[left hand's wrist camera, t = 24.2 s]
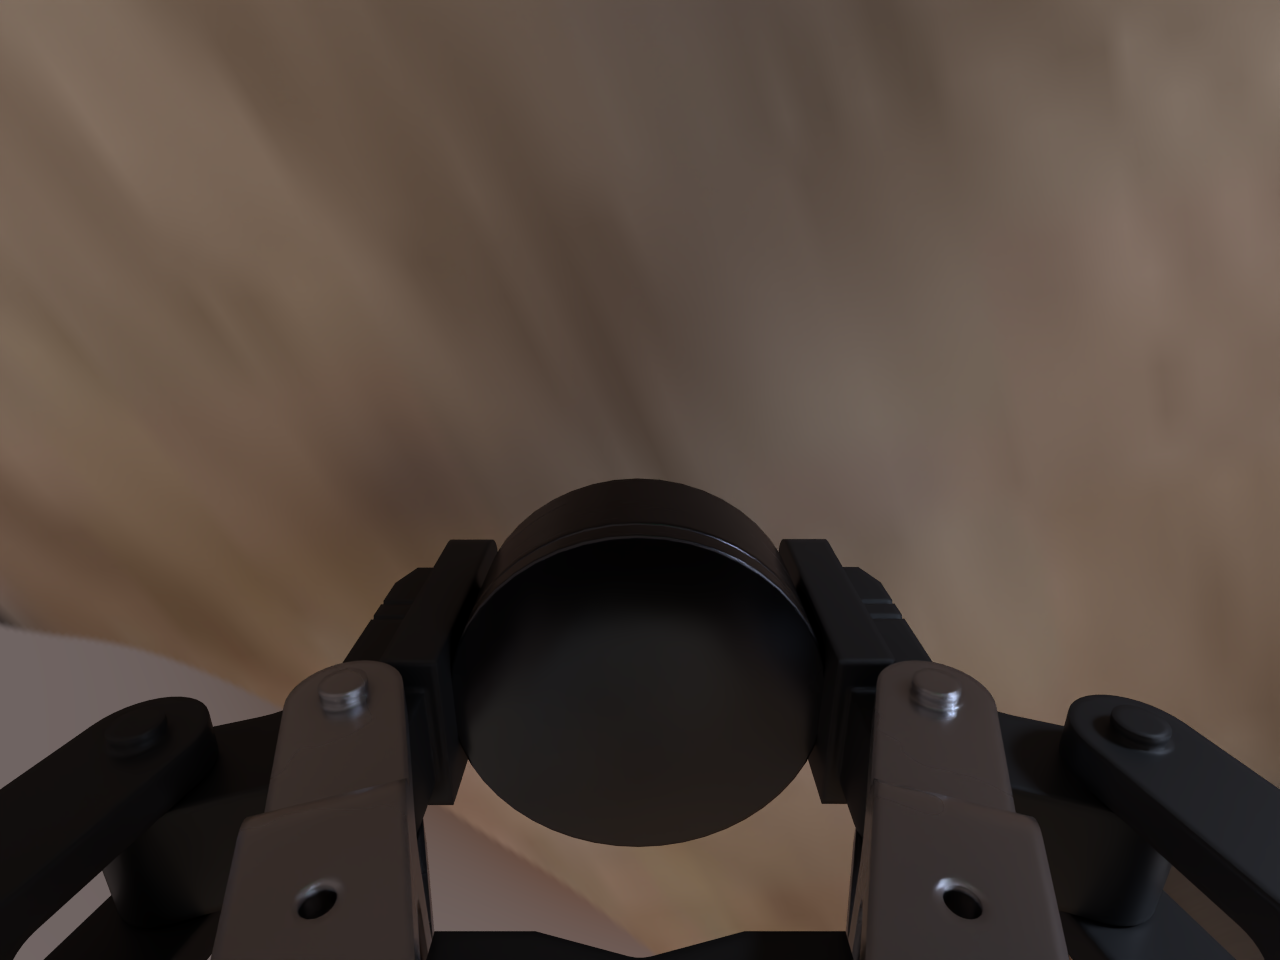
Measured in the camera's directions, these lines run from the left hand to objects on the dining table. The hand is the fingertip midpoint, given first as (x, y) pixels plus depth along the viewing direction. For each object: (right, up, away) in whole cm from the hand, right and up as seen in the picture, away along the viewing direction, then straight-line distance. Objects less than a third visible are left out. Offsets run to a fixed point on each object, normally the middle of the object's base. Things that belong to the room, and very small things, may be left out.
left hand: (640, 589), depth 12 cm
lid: (0, -1, -3) cm, 3 cm away
